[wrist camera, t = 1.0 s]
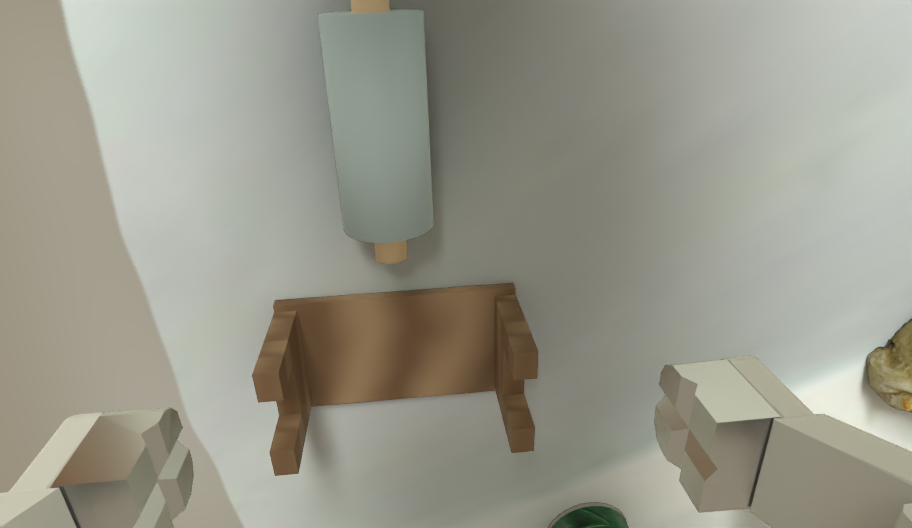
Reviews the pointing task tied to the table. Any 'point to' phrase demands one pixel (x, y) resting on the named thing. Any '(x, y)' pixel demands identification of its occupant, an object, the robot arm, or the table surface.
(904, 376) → the pastry
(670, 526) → the table surface
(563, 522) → the canned tomato
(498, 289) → the roll holder
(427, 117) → the paper roll
